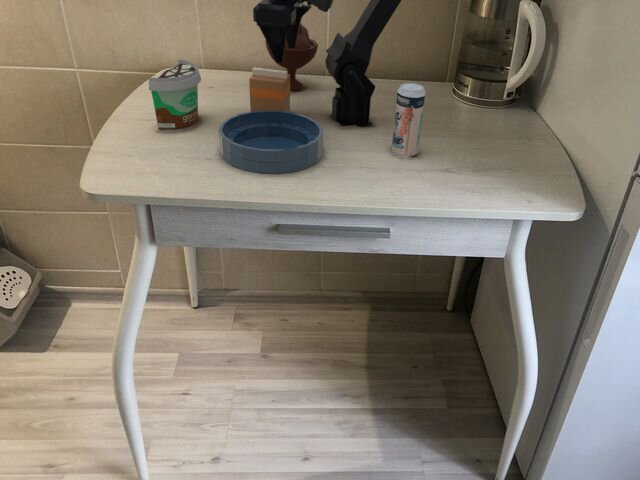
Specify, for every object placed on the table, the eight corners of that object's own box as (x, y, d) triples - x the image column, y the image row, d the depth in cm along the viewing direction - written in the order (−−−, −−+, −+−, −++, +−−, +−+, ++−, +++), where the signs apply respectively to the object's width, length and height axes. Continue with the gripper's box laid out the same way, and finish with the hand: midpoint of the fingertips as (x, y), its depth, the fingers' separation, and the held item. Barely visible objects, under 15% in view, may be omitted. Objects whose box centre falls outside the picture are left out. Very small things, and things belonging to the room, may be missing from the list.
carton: (258, 110, 118) (256, 64, 113) (290, 114, 118) (290, 67, 112) (250, 120, 114) (248, 72, 109) (284, 124, 114) (283, 76, 108)
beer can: (386, 148, 108) (393, 82, 101) (410, 145, 109) (418, 80, 102) (398, 159, 104) (406, 92, 97) (422, 156, 106) (431, 90, 99)
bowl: (304, 130, 112) (305, 107, 109) (335, 170, 99) (337, 145, 97) (212, 138, 106) (210, 114, 104) (232, 182, 93) (231, 155, 91)
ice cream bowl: (315, 97, 127) (317, 23, 118) (262, 93, 126) (260, 19, 118) (318, 81, 135) (320, 10, 127) (269, 77, 135) (268, 6, 126)
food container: (187, 139, 105) (181, 83, 99) (155, 134, 106) (147, 78, 100) (215, 114, 115) (211, 62, 109) (185, 110, 116) (179, 58, 110)
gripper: (323, -29, 89) (319, 76, 98) (343, -46, 104) (339, 46, 113) (250, -36, 90) (254, 68, 99) (281, -53, 105) (281, 39, 114)
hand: (285, 54), depth 106 cm, fingers open, 9 cm apart
